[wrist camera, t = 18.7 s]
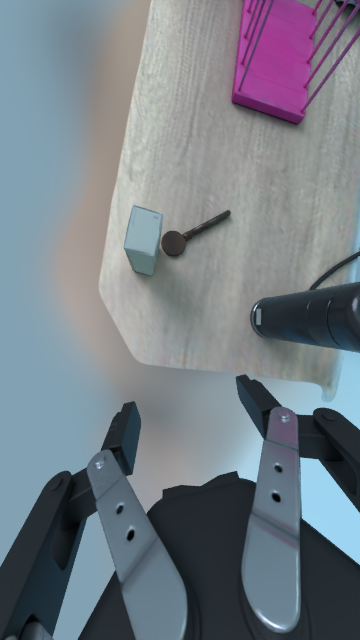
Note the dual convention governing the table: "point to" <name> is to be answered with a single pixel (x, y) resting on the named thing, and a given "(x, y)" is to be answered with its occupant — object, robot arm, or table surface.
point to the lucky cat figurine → (349, 2)
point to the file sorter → (281, 56)
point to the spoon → (186, 236)
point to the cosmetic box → (143, 239)
